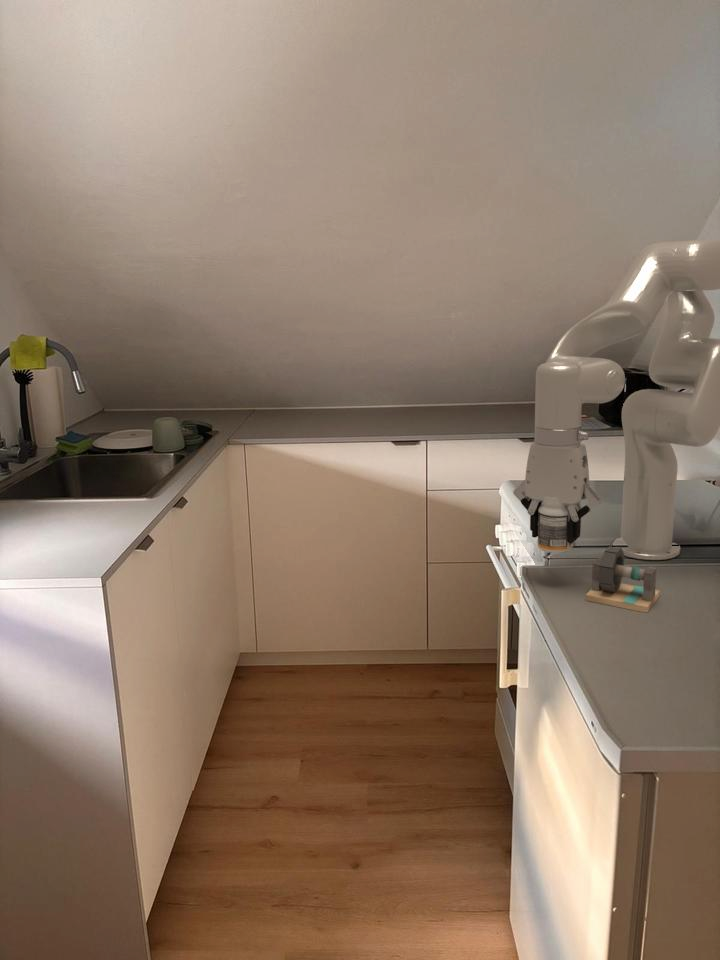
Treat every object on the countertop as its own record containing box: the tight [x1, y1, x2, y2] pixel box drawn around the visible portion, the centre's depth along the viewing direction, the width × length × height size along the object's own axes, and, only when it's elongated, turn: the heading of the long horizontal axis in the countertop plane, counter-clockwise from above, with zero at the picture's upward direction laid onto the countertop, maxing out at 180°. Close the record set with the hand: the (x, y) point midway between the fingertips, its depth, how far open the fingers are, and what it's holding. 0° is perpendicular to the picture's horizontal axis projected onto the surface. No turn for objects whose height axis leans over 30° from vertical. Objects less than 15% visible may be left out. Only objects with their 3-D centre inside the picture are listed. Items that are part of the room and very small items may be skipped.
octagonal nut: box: [599, 545, 625, 592], centre depth 129 cm, size 7×2×7 cm, turn 146°
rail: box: [584, 557, 661, 614], centre depth 129 cm, size 8×10×6 cm
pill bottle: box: [537, 497, 572, 554], centre depth 133 cm, size 6×6×10 cm
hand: (554, 537), depth 134 cm, fingers closed on pill bottle, 5 cm apart
